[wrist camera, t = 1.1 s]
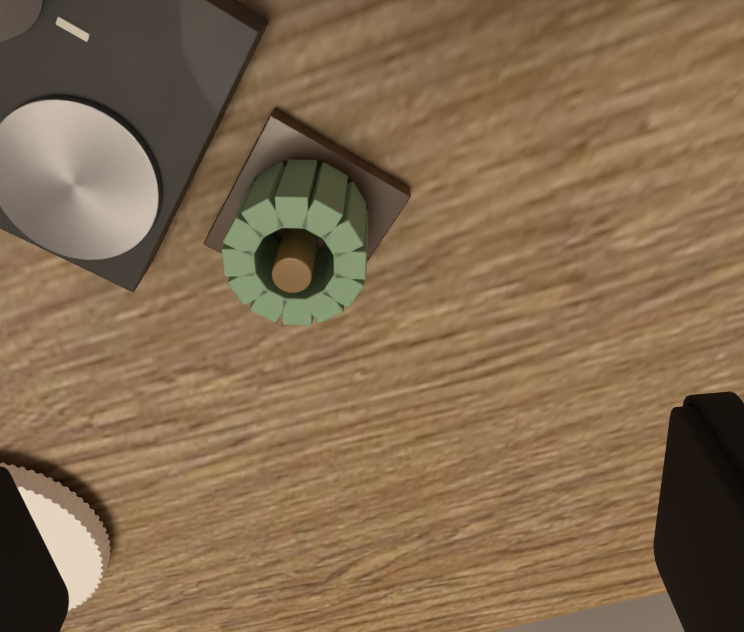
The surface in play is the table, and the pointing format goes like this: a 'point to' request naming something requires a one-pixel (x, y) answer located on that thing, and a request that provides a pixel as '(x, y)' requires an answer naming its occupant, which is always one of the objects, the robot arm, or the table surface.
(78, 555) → the plastic lid
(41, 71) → the hob
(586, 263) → the table surface
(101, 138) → the burner
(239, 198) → the peg stand
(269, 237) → the ring
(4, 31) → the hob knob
